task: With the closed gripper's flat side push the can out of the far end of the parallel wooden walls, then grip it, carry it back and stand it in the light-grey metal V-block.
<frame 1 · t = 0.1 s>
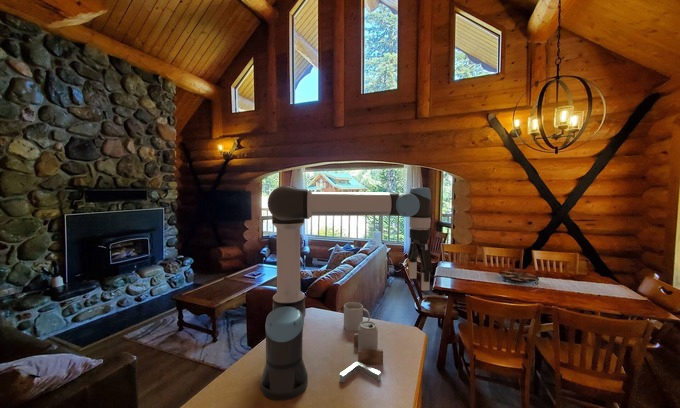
hand: (418, 283, 108), 28 cm above the table, fingers open, 13 cm apart
parallel wooden walls: (367, 354, 110), on the table
v block: (360, 380, 95), on the table
can: (367, 355, 110), on the table
mug: (355, 327, 132), on the table
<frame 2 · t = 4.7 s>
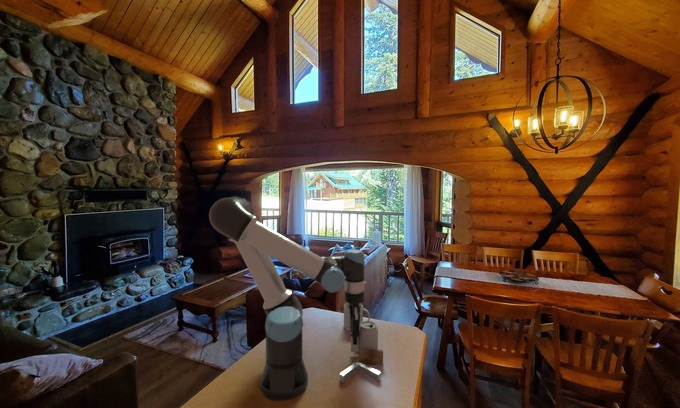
hand: (354, 350, 110), 2 cm above the table, fingers closed
can: (367, 354, 110), on the table, touching gripper
everything else where it was.
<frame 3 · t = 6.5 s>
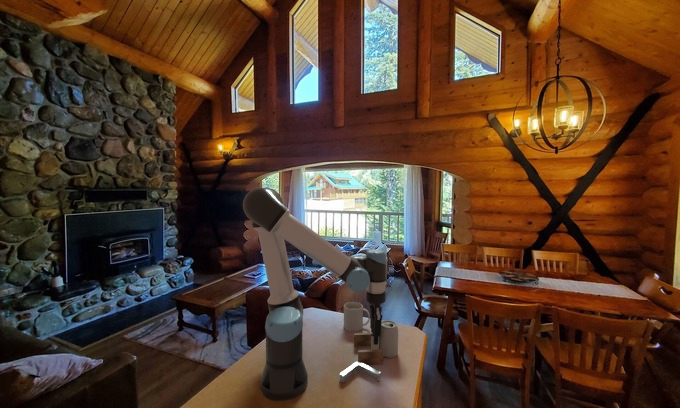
hand: (374, 350, 110), 1 cm above the table, fingers closed
can: (388, 353, 111), on the table, touching gripper
everything else where it was.
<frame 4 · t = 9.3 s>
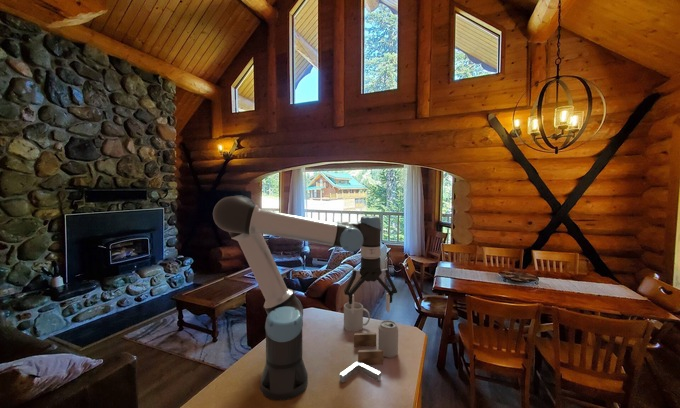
hand: (370, 311, 109), 17 cm above the table, fingers open, 13 cm apart
can: (388, 354, 111), on the table
everything else where it was.
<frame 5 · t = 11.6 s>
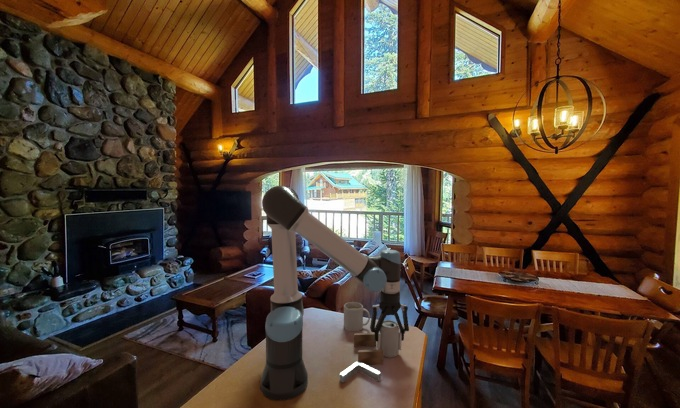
hand: (389, 348, 111), 2 cm above the table, fingers closed on can, 7 cm apart
can: (388, 353, 111), on the table, touching gripper
everything else where it was.
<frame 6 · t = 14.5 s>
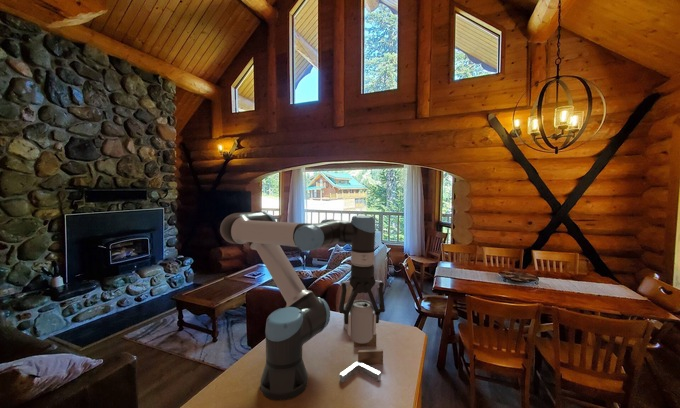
hand: (361, 332, 93), 17 cm above the table, fingers closed on can, 7 cm apart
can: (361, 339, 93), point 15 cm above the table, touching gripper
everything else where it was.
when the fingers open (4 cm above the table, at t = 17.4 s): can drops 2 cm, on the table.
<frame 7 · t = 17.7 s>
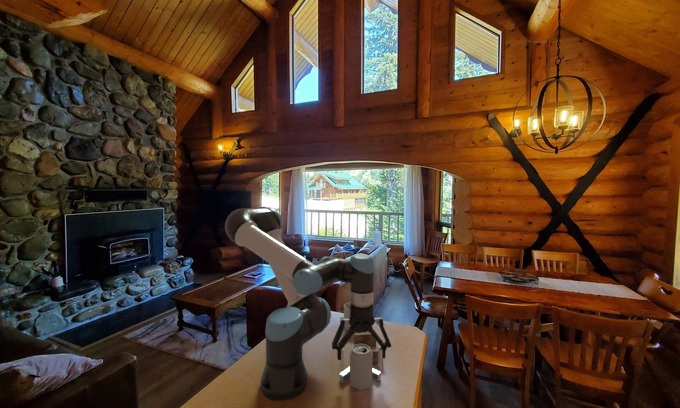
hand: (361, 368, 93), 5 cm above the table, fingers open, 12 cm apart
can: (360, 384, 93), on the table
everything else where it was.
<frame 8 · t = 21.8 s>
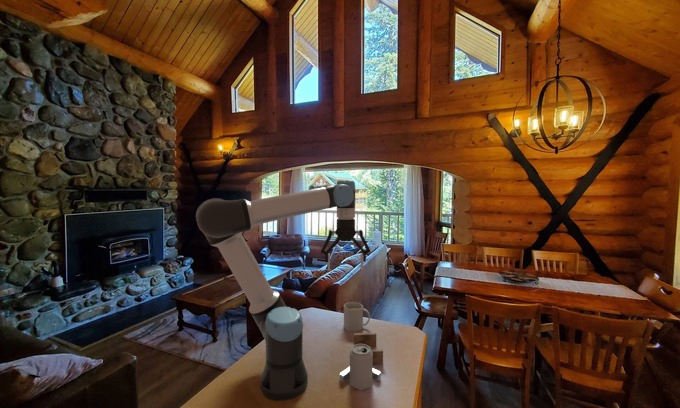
hand: (345, 269, 117), 31 cm above the table, fingers open, 13 cm apart
nothing on the table moved.
at the end: can inside the target area on the v block (0.4 cm from its centre), point 0.0 cm above the v block's base; can tilted 0°; the gripper is holding nothing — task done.
